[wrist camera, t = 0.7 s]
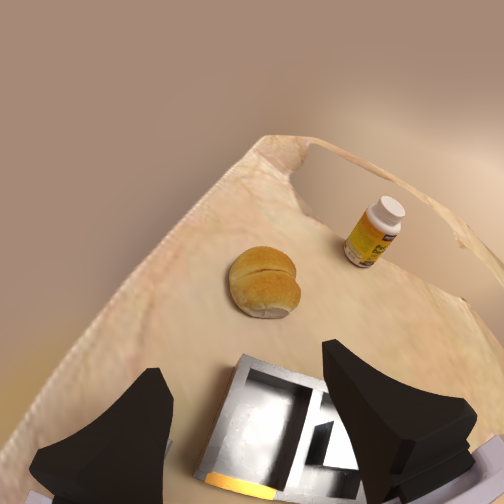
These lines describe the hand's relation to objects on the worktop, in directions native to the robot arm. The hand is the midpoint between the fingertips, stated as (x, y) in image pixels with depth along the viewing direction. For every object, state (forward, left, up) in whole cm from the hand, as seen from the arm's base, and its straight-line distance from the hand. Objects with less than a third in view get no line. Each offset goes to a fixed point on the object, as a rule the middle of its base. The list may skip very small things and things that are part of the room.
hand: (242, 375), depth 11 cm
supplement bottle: (+28, -13, -16) cm, 35 cm away
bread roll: (+16, -1, -16) cm, 23 cm away
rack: (0, -12, -15) cm, 19 cm away
